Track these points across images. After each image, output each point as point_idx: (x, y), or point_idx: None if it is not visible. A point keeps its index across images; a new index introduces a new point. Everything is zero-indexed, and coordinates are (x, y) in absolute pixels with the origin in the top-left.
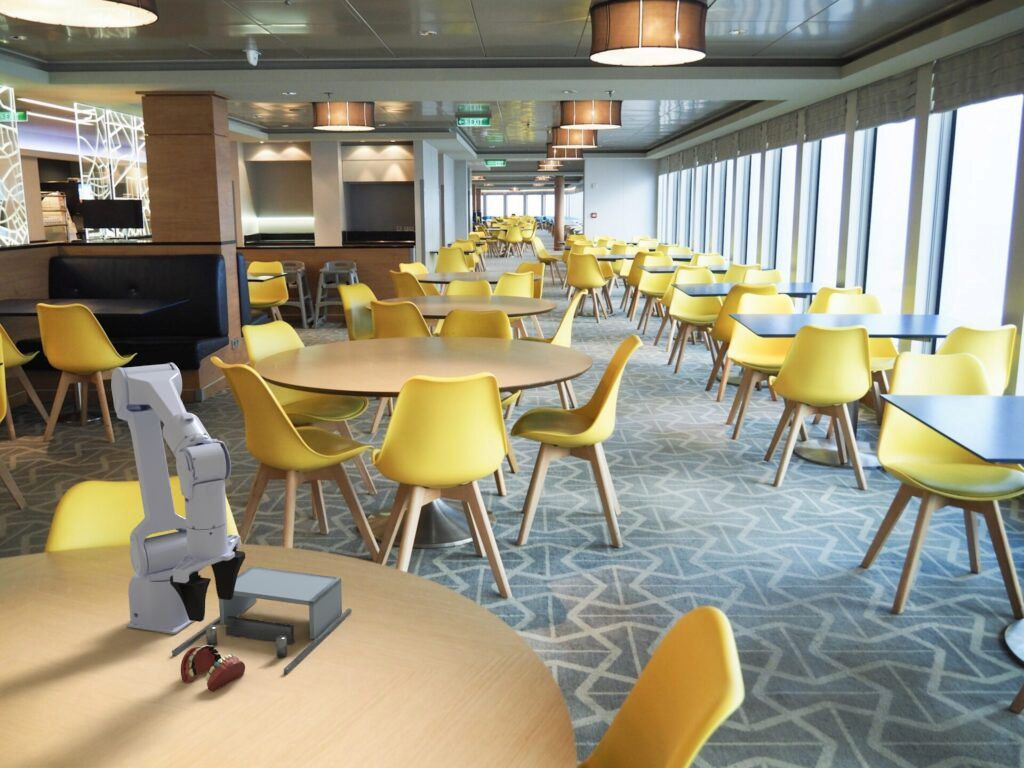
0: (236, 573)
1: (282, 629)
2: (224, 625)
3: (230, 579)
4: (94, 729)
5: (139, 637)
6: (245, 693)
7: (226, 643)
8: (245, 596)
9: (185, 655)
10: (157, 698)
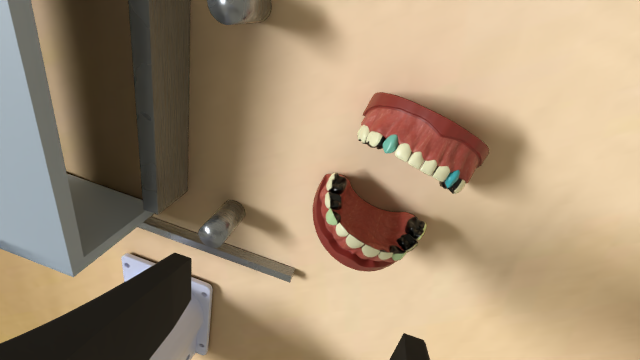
0: (35, 351)
1: (157, 28)
2: None
3: (100, 346)
4: (611, 354)
5: (234, 331)
6: (502, 51)
7: (221, 181)
8: (70, 195)
9: (374, 269)
10: (488, 269)
